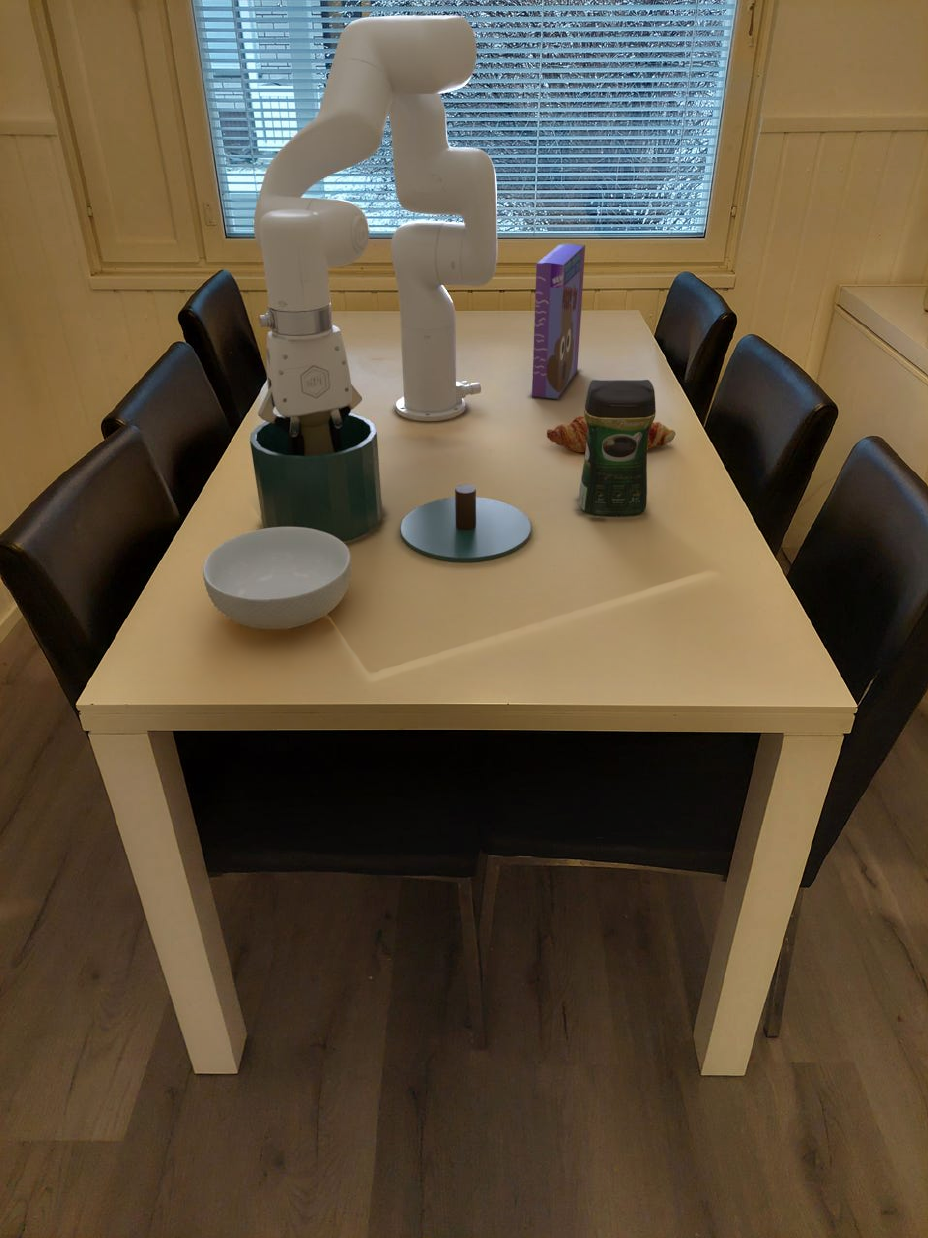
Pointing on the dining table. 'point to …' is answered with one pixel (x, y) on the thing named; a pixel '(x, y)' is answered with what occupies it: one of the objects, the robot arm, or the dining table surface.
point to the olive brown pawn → (316, 433)
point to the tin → (320, 481)
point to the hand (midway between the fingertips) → (316, 455)
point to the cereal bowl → (278, 576)
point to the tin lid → (465, 528)
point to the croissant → (577, 435)
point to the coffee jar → (616, 447)
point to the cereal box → (557, 319)
